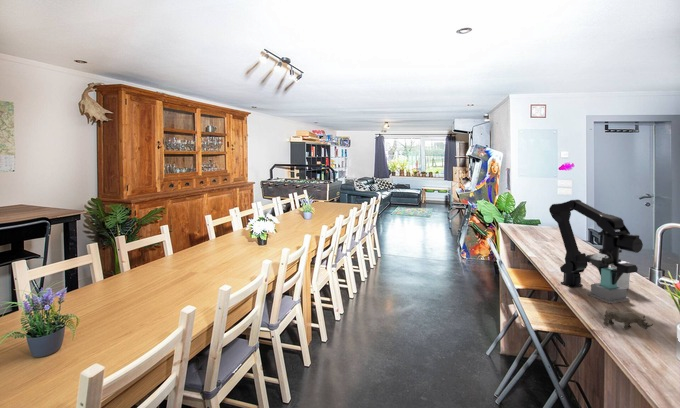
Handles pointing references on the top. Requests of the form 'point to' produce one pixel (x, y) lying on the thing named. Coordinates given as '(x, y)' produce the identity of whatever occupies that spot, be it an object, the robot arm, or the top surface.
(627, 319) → the rhino figurine
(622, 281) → the skincare box
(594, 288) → the socket block
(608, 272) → the teal peg
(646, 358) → the top surface
